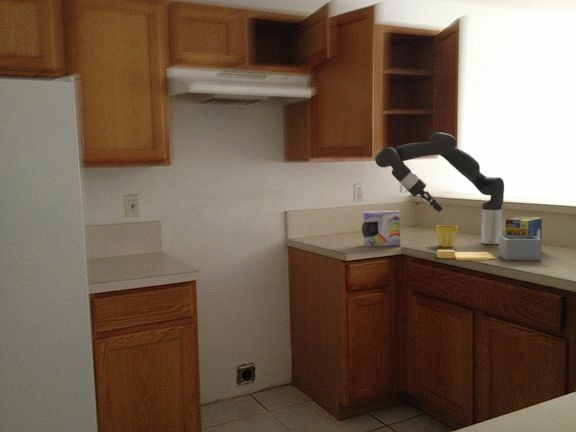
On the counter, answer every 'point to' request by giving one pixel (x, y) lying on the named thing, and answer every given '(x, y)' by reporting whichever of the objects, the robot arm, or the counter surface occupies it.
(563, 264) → the counter surface
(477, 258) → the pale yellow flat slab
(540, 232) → the protein box
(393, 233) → the cake pan box
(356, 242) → the counter surface
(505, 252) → the tub
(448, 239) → the plant pot
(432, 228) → the counter surface
